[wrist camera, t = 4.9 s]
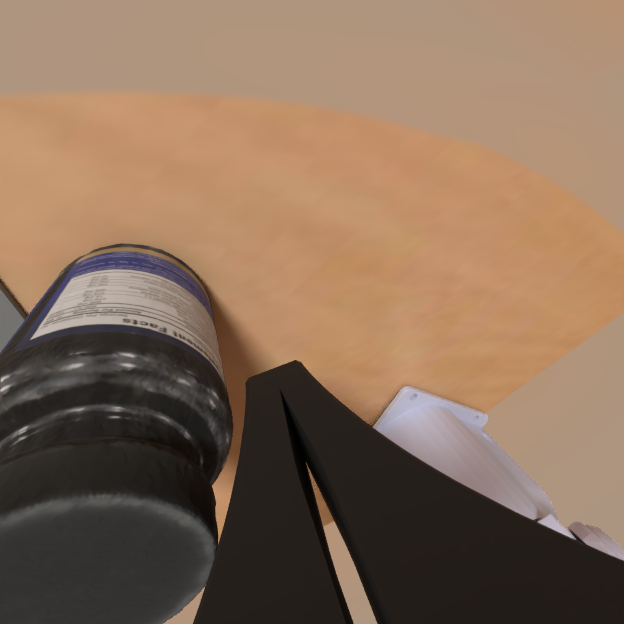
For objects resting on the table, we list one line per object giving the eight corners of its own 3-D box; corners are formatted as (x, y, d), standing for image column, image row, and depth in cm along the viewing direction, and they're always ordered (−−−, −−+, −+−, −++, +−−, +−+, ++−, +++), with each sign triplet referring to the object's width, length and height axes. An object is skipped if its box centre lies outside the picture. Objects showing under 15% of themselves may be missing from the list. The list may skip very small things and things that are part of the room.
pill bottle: (141, 388, 17) (98, 701, 8) (13, 308, 14) (-316, 690, 5) (239, 308, 17) (312, 538, 8) (133, 206, 13) (36, 396, 4)
